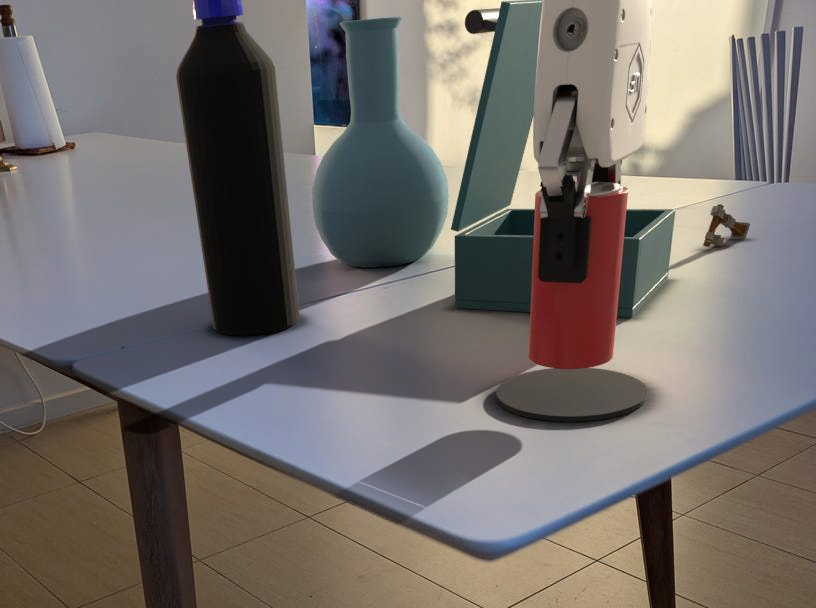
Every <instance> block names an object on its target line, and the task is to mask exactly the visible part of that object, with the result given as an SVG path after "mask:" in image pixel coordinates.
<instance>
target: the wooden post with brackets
mask: <svg viewBox="0 0 816 608" xmlns="http://www.w3.org/2000/svg"><path fill="white" fill-rule="evenodd" d="M724 207H725V206H724V204H722V203H721V204H720V203H719V204H717V205H713V206H712V208H711V210H710V213H709V214H710V216H712V219H711V221H710V224H709V227H708V230H707V231H706V233H705V236H704V240H703V243H702V246H704V247H708V248H710V247H711V245H713V247H721V248H722V247H723V244H724V240H725V237H722V235H721V234H715V233H716V230H717V228H718V227H719V226H720V225H721V226H723V227H724V228H725V229H729V231H730V236H729V238H730V239H735V240H746V238H747V235H748V234H749V230H750V227H751V222H743V221H736V218H734V217H733V215H732V214H730V213H726V209H724Z"/></svg>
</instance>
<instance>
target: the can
mask: <svg viewBox="0 0 816 608" xmlns="http://www.w3.org/2000/svg"><path fill="white" fill-rule="evenodd" d="M577 187H578V182H577V181H575V188H576V192H577ZM534 196H535V197H534V209H535V214H534V238H533V262H532V286H531V310H530V312H529V313H530V314H529V333H528V334H529V335H528V337H529V338H528V340H529V341H528V359H529V361H530V362H532V363H533V364H535V365H537V366H540V367H545V368H548V369H551V368H557V369H581V368H595V367H598V366H602V365H605V364H607V363H608V362H610V361H611V360H613V357H614V349H615V338H616V328H617V318H618V317H617V307H618V296H619V285H620V274H621V264H622V253H623V242H624V231H625V220H626V209H628V197H629V188H628V187H626V186H623V185H622V184H621V185H620V184H617V183H611V182H592V183H591V189H590V195H589V201H588V207H587V212H586V216H592V220H591V233H590V247H589V260H588V274H587V278H586V280H584V281H583V282H582V283H560V282H542V281H540V280H539V278H538V264H539V242H540V220H541V217H540V204H541V198H542V192H541V191H540V190H538V191H537V192H535V195H534Z"/></svg>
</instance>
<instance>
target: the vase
mask: <svg viewBox="0 0 816 608" xmlns="http://www.w3.org/2000/svg"><path fill="white" fill-rule="evenodd" d="M403 18H404V17H403V16H400V15H399V16H388V17H387V16H386V17H378V18H377V17H376V18H366V19H365V18H364V19H355V20H347V21H341V22H339V26H340V27H341V29H342V30H343V31H344V32H345V52H346V53H345V57H346V69H347V82H348V94H349V95H348V96H349V103H350V121H349V122H348V125H347V126H346V128H345V130H344V131H343V132H342V133H341V134H340V135H339V137H337V138H336V139H335V140H334V141H333V142H332V144H331V145H330V146H329V148H328V149H327V150H326V152H325V153H324V154H323V156H322V158H321V159H320V162H319V164H318V166H317V169H316V171H315V176H314V178H313V179H314V180H313V183H312V184H313V185H312V187H311V206H312V212H313V219H314V225H315V227H316V230H317V232H318V234H319V236H320V238H321V240H322V242H323V244H324V245H325V247H326V248H327V250H328V251H329V253H330V254H331V256H333V257H334V258H335V259H337V260H338V261H339V262H341V264H344V265H347V266H350V267H354V268H355V267H357V268H385V267H386V268H387V267H388V268H389V267H394V266H401V265H405V264H409V263H412V262H415V261H417V260H419V259H421V258H422V257H424V256H425V255H426V254H427V253H428V252H429V251H430V250H431V249H432V248H434V246H435V245H436V242H437V240H438V239H439V237H440V235H441V233H442V231H443V229H444V227H445V226H444V225H445V224H446V220H447V218H448V213H449V201H450V200H449V199H450V194H449V183H448V178H447V175H446V173H445V170H444V167H443V163H442V162H441V160H440V159H439V157H438V156H437V153H436V152H435V151H434V149H433V148H432V147H431V145H429V144H428V142H426V140H425V139H424V138H423V137H422V136H421V135H420V134H418V133H417V132H415V131H414V130H412V129H411V128H410V127H409V126H408V125H407V123H405V121H404V120H403V118H402V115H401V111H400V47H399V46H400V45H399V32H398V28H399V25H400V24H401V22H402V20H403Z"/></svg>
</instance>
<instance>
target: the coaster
mask: <svg viewBox="0 0 816 608" xmlns="http://www.w3.org/2000/svg"><path fill="white" fill-rule="evenodd" d="M648 395H649V390H648V387H647V386H646V385H645V383H644V382H642V381H641V380H639V379H638V378H636V377H634V376H631V375H629V374H626V373H623V372H619V371H614V370H610V369H603V368H595V367H589V368H581V369H557V368H544V369H543V368H542V369H537V370H533V371H528V372H524V373H520V374H518V375H515V376H512V377H510V378H507V379H505V380H504V381H503V382H501V383H500V384H499V385H498V386H497V388H496V391H495V400H496V403H497V404H498V405H499V406H500V407H501V408H502V409H504V410H505V411H508V412H510V413H512V414H515V415H518V416H521V417H524V418H528V419H534V420H540V421H548V422H558V423H559V422H560V423H563V422H566V423H575V422H576V423H577V422H578V423H580V422H594V421H601V420H606V419H607V420H608V419H612V418H616V417H620V416H623V415H626V414H629V413H632V412H634V411H636V410H638V409H639V408H641V407H642V406H643V405H644V404H645V403H646V402H647V399H648Z"/></svg>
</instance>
